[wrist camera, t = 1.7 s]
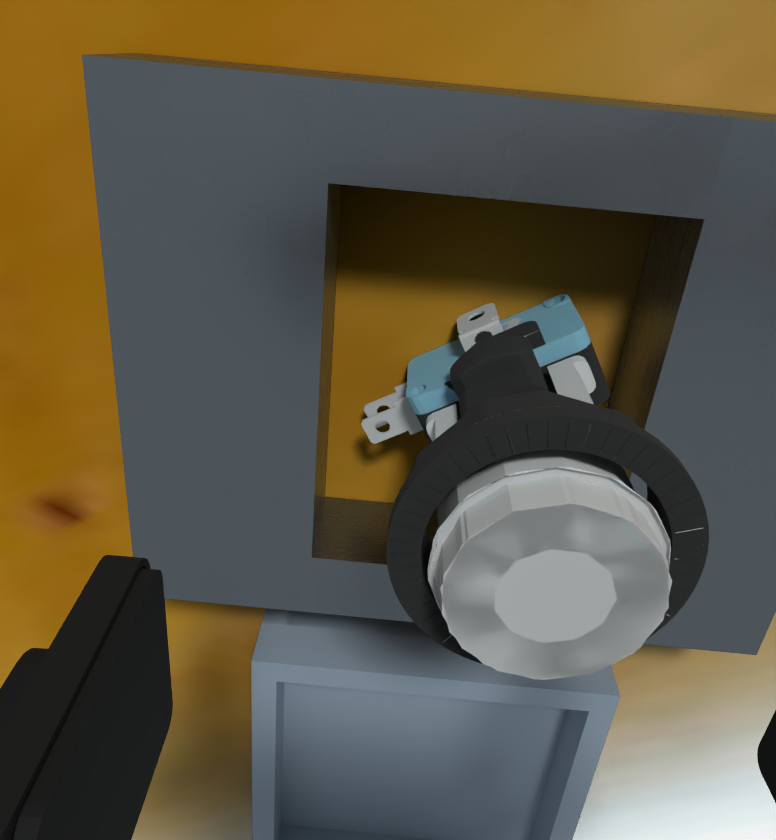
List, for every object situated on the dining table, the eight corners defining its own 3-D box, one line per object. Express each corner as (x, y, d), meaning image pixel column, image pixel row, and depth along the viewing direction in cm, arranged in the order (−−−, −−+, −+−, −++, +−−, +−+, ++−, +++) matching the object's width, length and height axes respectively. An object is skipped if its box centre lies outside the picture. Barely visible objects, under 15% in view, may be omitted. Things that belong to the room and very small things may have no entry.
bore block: (896, 126, 17) (984, 141, 14) (718, 585, 23) (756, 654, 21) (135, 53, 17) (82, 55, 14) (169, 533, 23) (136, 595, 21)
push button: (407, 476, 22) (396, 767, 13) (325, 328, 20) (247, 556, 11) (618, 395, 20) (767, 663, 12) (554, 224, 18) (677, 393, 9)
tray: (602, 637, 25) (620, 695, 22) (540, 842, 30) (549, 905, 28) (266, 605, 25) (251, 660, 22) (265, 816, 30) (252, 877, 28)
